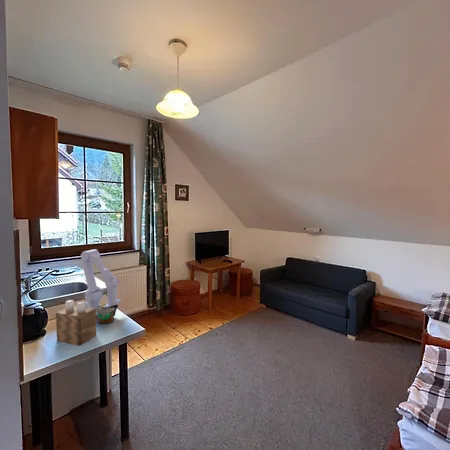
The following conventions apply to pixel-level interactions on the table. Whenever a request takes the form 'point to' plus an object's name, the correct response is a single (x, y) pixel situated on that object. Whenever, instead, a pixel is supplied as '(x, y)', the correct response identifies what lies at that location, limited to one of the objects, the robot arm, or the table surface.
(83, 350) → the table surface
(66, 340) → the wooden bottle crate
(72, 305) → the tumblers
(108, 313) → the food container
